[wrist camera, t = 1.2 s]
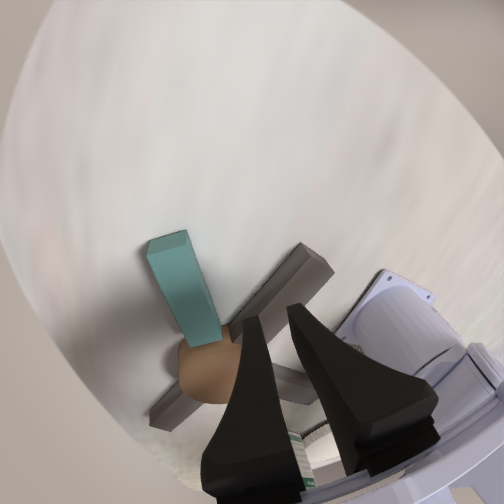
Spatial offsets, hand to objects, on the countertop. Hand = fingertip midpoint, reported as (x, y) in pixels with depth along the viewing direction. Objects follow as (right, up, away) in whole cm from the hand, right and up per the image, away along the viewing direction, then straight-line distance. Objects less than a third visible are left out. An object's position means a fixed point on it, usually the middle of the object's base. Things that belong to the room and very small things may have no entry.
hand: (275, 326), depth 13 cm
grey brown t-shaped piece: (-1, -8, +14) cm, 16 cm away
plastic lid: (+12, -24, +27) cm, 38 cm away
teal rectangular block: (-6, +1, +8) cm, 10 cm away
